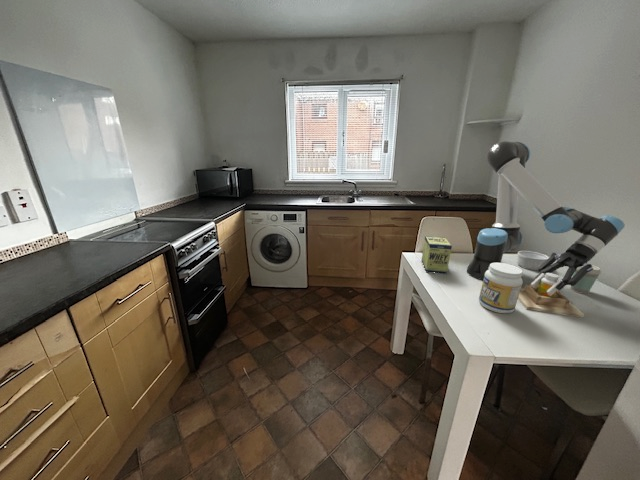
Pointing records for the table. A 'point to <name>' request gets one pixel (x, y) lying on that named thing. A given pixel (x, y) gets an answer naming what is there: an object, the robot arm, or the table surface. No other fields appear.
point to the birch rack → (547, 302)
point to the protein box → (436, 254)
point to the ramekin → (530, 259)
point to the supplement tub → (501, 287)
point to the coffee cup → (586, 280)
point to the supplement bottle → (547, 284)
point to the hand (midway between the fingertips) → (540, 289)
